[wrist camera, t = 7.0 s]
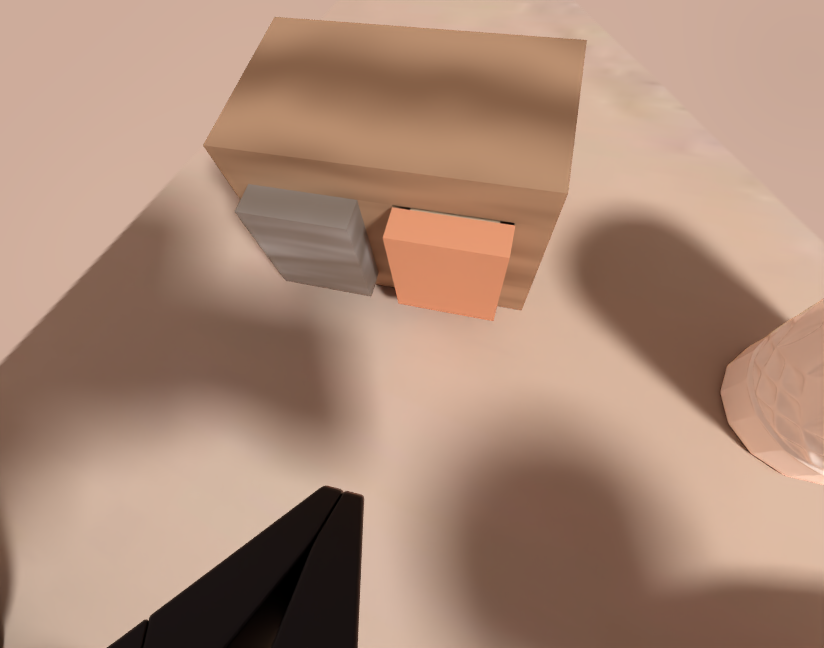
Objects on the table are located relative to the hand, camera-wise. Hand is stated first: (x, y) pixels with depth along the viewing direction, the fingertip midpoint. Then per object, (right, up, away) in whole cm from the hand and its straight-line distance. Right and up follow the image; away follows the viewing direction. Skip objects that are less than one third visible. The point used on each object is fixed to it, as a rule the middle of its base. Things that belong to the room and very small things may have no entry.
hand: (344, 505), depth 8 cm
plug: (+4, +9, +15) cm, 18 cm away
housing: (+2, +9, +17) cm, 20 cm away
